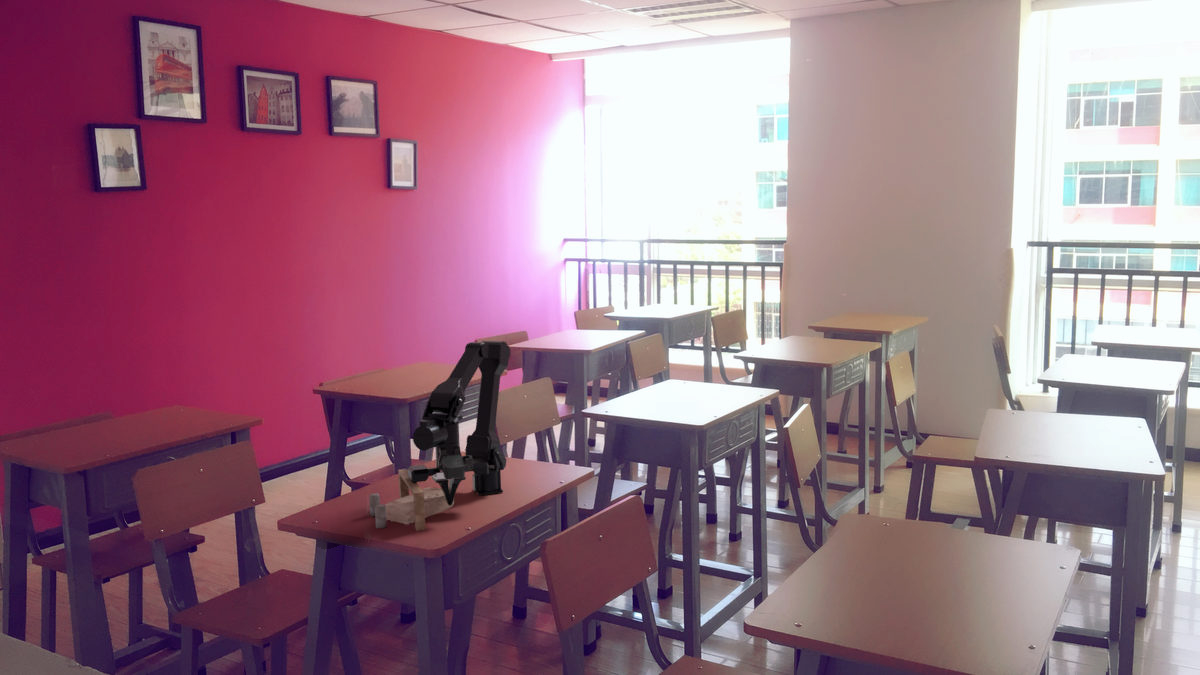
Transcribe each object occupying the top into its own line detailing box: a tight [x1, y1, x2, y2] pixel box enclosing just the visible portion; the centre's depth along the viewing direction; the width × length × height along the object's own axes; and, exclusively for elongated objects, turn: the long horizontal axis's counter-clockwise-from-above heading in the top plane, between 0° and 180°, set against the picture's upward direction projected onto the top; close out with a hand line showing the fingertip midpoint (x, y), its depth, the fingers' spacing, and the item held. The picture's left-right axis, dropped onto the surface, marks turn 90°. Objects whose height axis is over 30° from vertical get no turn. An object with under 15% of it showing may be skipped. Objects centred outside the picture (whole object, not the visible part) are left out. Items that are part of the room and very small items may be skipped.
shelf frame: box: [368, 468, 426, 532], centre depth 221 cm, size 10×23×9 cm, turn 21°
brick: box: [385, 486, 455, 525], centre depth 226 cm, size 17×8×5 cm, turn 148°
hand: (449, 504), depth 226 cm, fingers closed
